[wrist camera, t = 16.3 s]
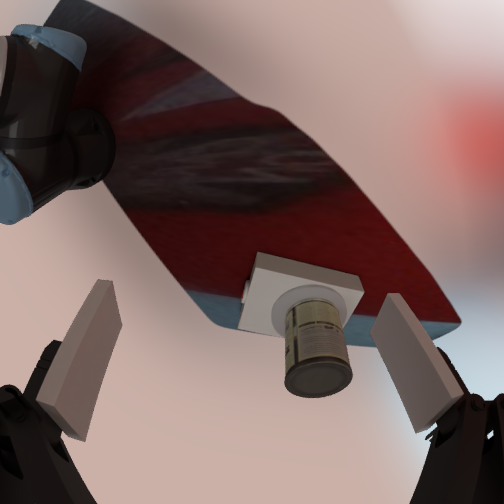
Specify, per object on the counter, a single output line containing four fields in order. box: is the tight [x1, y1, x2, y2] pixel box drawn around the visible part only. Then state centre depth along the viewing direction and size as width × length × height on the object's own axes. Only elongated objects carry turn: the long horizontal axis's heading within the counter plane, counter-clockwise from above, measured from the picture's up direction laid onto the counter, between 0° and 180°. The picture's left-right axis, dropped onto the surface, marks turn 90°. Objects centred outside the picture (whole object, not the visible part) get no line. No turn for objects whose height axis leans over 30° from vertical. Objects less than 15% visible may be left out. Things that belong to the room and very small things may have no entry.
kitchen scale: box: [238, 252, 364, 338], centre depth 52 cm, size 15×21×6 cm
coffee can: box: [284, 298, 353, 398], centre depth 44 cm, size 10×10×14 cm
